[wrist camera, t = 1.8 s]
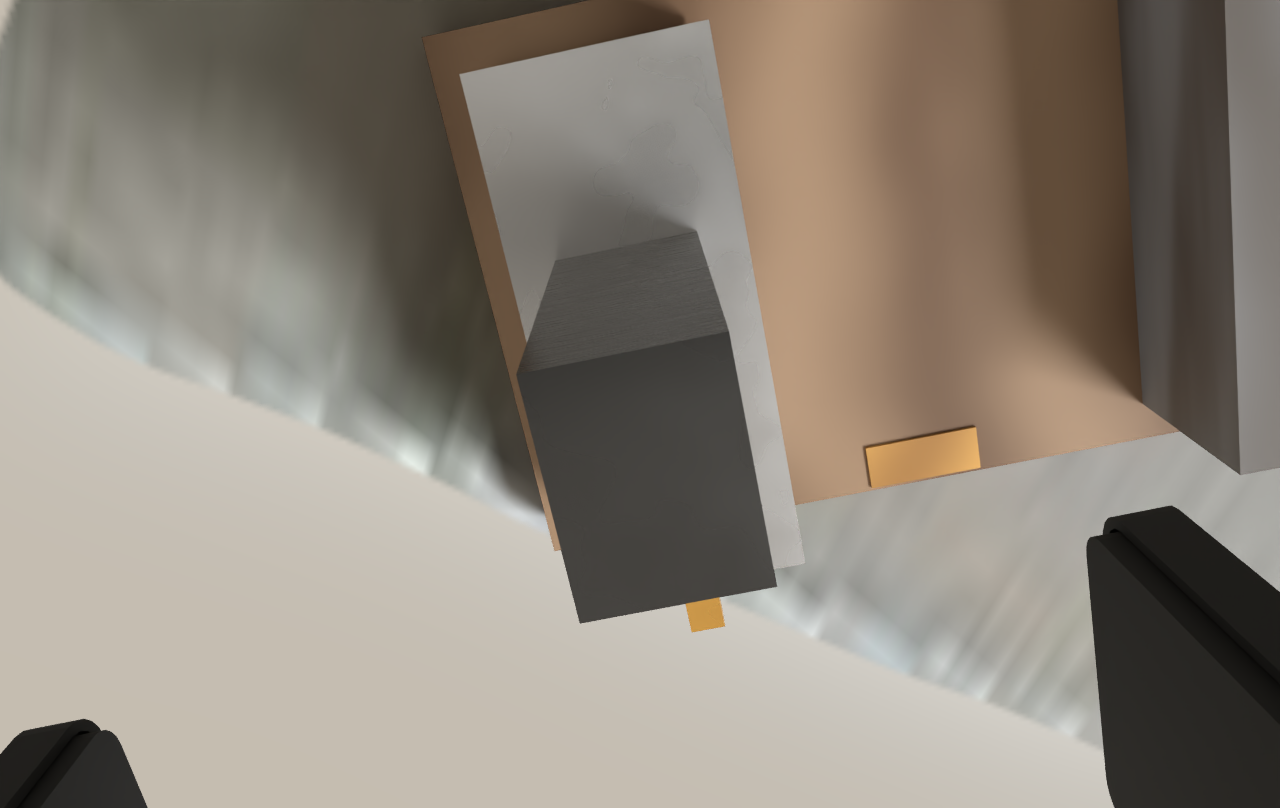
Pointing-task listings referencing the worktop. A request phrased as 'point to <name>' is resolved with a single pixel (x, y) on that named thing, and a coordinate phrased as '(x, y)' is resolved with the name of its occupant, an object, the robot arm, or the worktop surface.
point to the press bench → (972, 220)
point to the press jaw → (638, 322)
